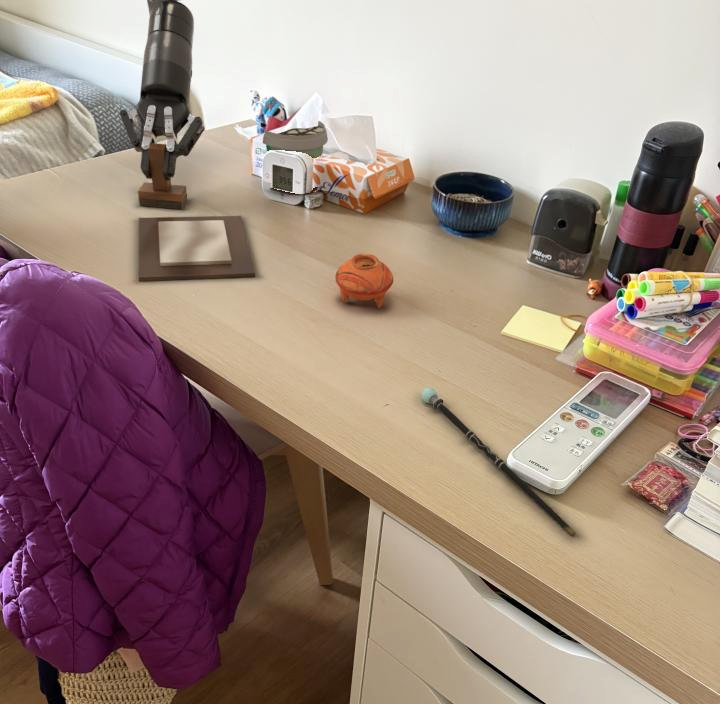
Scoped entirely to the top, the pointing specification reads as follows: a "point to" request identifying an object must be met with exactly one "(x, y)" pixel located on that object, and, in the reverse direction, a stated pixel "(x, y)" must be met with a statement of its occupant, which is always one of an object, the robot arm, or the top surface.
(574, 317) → the top surface
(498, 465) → the black stick
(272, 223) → the top surface
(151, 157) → the brown t-shaped stand
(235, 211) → the top surface
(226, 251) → the tile board
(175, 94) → the robot arm
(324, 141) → the food container
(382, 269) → the pot
